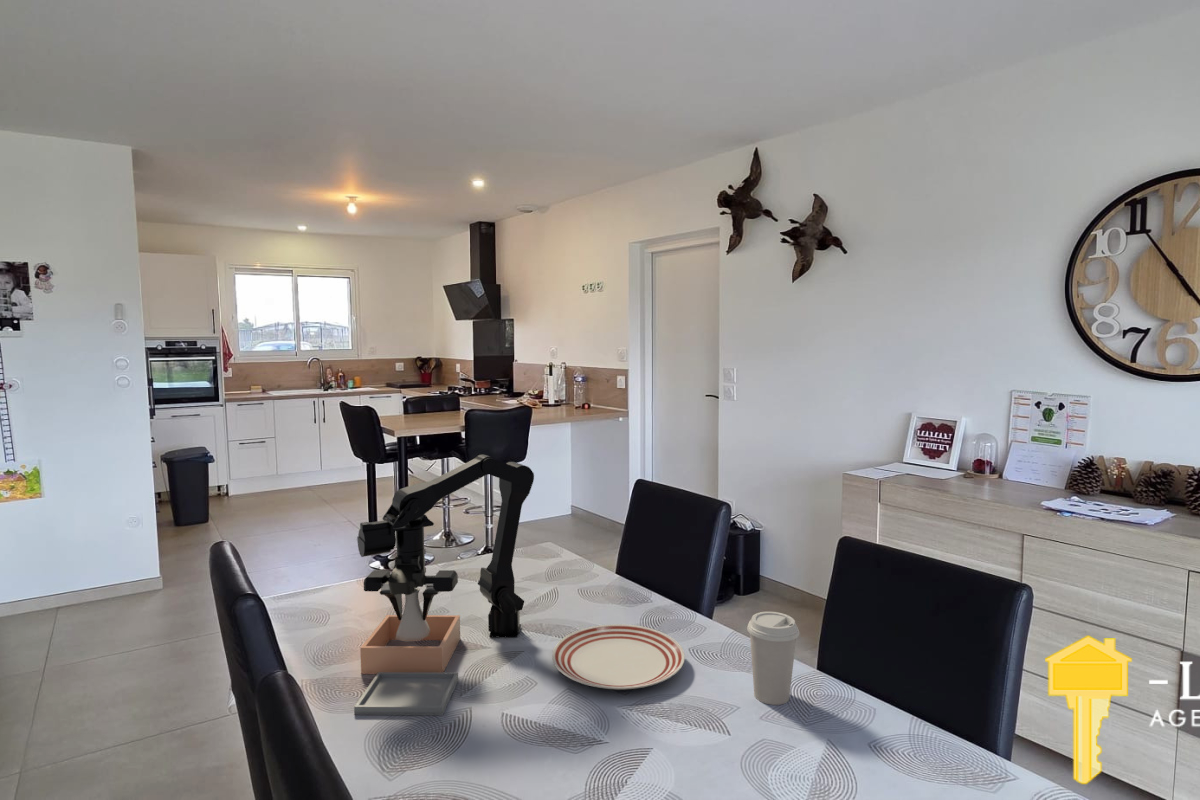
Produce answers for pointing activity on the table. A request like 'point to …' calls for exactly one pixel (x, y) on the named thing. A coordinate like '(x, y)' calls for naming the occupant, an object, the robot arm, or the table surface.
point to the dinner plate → (618, 656)
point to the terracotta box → (410, 647)
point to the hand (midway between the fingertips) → (412, 619)
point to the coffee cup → (772, 655)
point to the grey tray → (407, 694)
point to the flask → (412, 620)
